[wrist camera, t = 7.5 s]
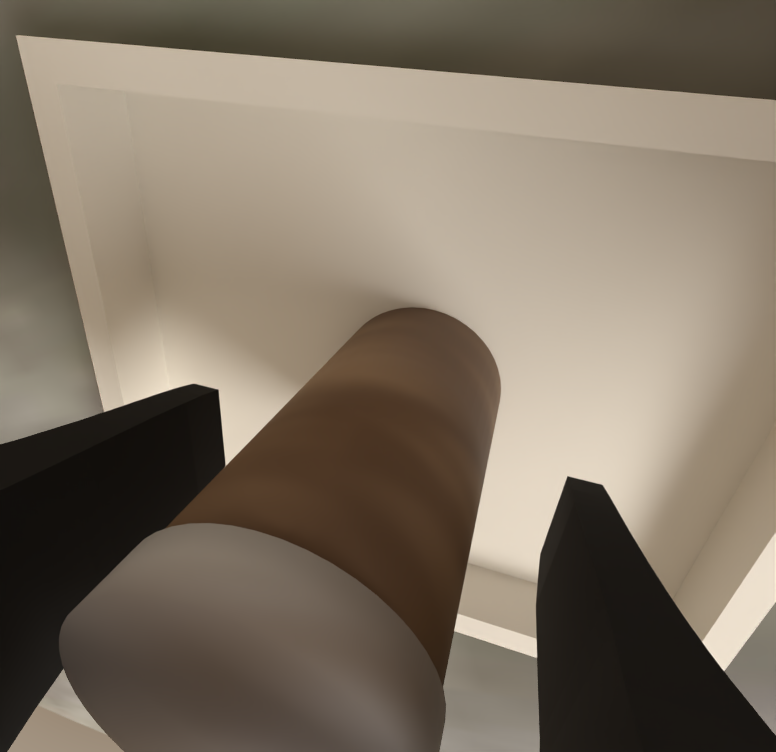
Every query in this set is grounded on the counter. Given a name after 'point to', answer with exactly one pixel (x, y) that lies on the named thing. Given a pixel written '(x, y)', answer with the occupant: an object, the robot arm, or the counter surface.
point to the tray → (449, 280)
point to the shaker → (308, 565)
